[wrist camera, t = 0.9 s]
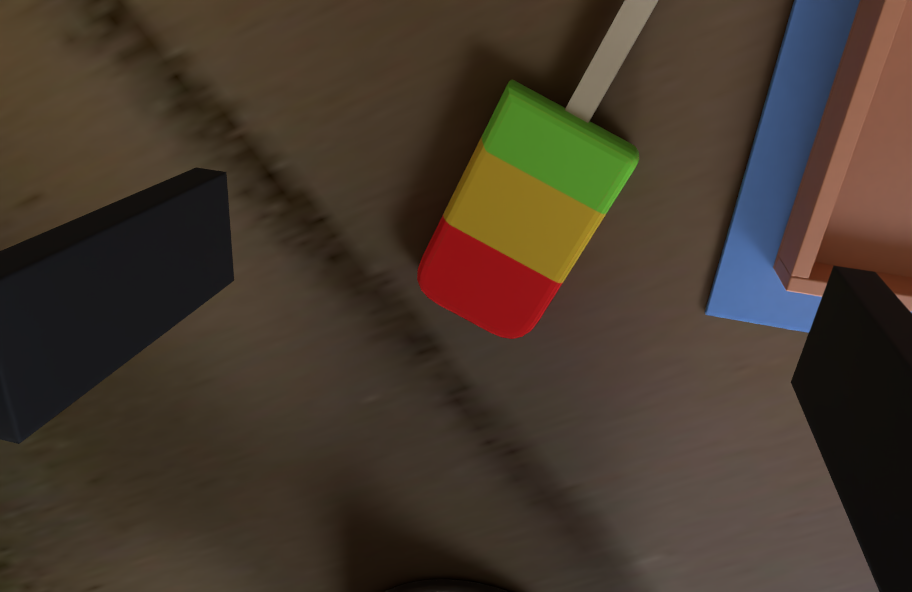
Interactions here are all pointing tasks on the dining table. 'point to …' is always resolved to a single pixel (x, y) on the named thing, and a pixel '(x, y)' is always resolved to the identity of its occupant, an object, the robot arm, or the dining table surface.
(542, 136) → the popsicle
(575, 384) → the dining table surface
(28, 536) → the dining table surface
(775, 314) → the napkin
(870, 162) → the tray
